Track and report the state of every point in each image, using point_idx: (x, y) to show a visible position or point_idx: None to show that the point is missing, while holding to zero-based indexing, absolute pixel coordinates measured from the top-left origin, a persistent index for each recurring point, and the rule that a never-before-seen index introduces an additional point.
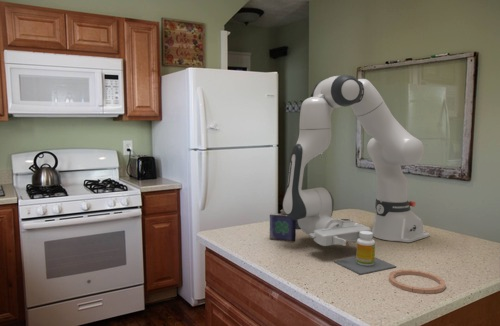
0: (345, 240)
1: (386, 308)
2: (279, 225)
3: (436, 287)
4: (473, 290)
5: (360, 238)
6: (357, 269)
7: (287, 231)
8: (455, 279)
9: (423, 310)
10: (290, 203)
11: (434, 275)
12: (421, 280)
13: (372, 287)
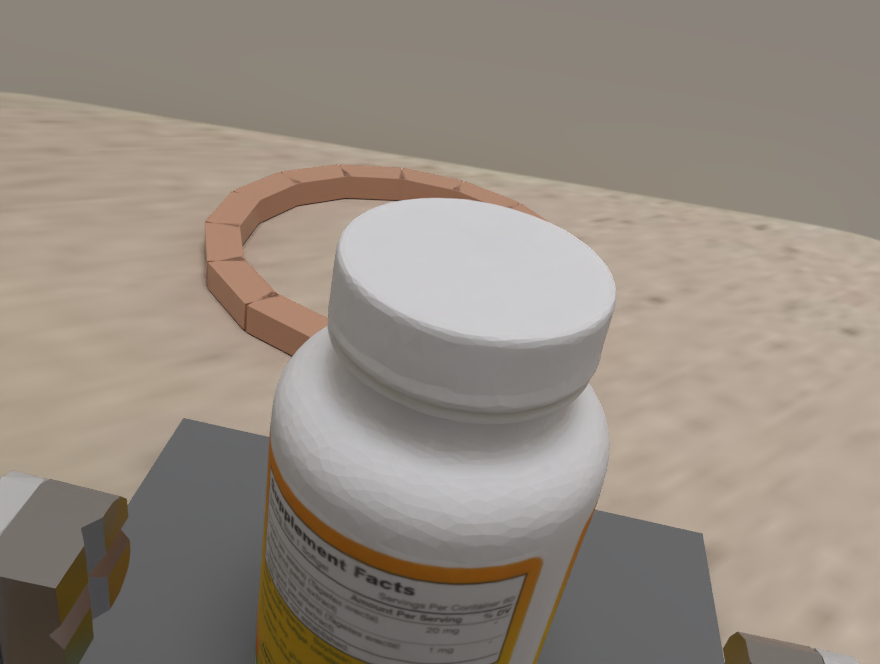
0: (828, 652)
1: (839, 275)
2: None
3: (429, 179)
4: (248, 130)
5: (562, 409)
6: (654, 611)
7: None
8: (133, 174)
9: (676, 202)
10: None
11: (233, 204)
12: (329, 262)
13: (756, 388)
